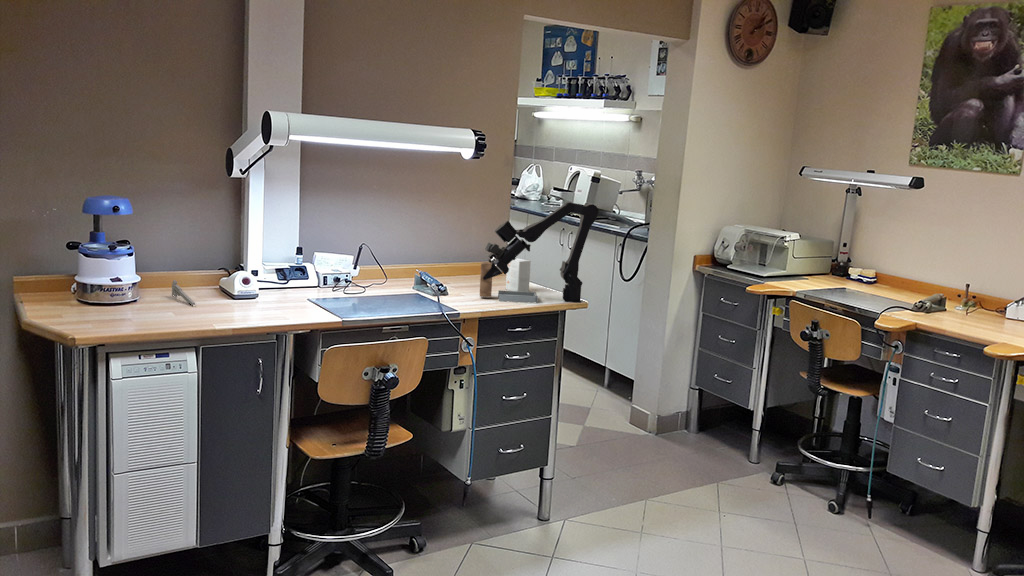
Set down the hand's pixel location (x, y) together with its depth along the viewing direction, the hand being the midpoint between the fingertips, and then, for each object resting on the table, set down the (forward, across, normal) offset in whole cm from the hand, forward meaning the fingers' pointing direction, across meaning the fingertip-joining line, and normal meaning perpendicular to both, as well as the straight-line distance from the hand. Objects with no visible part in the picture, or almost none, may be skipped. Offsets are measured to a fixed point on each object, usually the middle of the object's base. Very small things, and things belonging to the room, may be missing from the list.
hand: (482, 277), depth 326 cm
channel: (-4, +2, +16) cm, 16 cm away
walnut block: (+4, 0, +6) cm, 7 cm away
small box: (-6, -18, +18) cm, 27 cm away
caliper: (+82, +18, -70) cm, 109 cm away
